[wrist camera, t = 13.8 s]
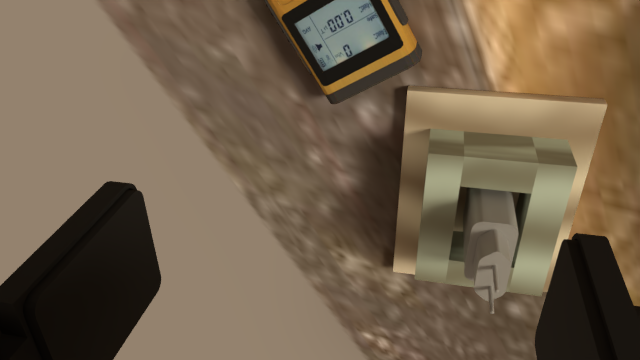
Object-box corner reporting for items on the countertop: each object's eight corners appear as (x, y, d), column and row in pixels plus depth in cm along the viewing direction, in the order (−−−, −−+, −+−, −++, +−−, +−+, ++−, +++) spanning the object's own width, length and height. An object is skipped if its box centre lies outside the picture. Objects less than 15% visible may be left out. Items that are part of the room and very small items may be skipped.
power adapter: (511, 171, 42) (528, 273, 32) (499, 227, 45) (512, 336, 35) (470, 168, 43) (475, 266, 33) (461, 222, 46) (463, 328, 36)
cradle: (408, 85, 41) (403, 112, 37) (604, 98, 39) (622, 129, 35) (393, 264, 51) (388, 302, 47) (550, 284, 48) (559, 326, 44)
